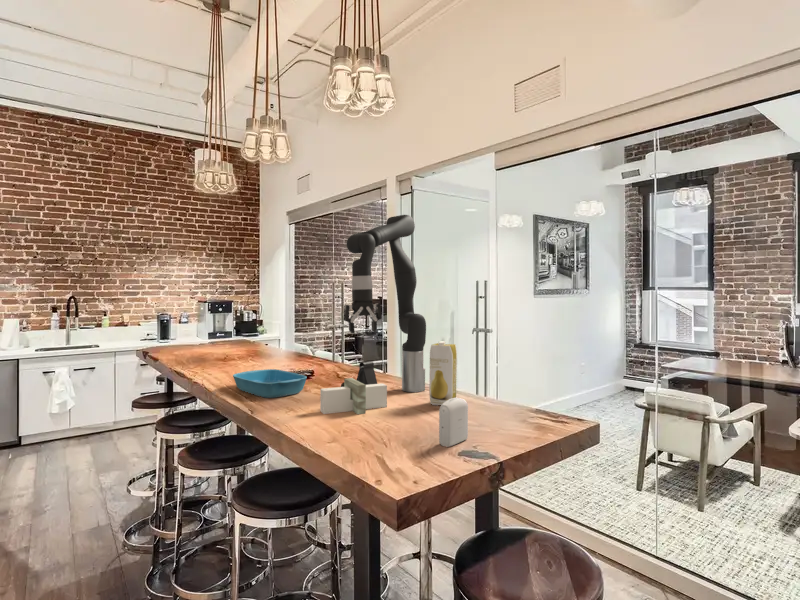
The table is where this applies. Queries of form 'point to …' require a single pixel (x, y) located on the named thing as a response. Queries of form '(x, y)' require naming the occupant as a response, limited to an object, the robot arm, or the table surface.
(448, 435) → the photo printer
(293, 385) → the casserole dish
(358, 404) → the slotted plate
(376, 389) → the slotted beam
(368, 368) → the phone stand
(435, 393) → the juice carton
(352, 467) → the table surface
